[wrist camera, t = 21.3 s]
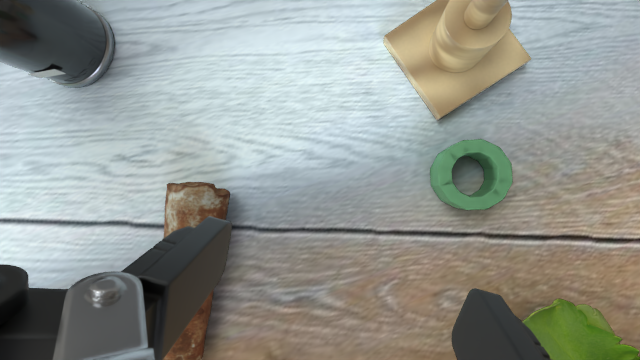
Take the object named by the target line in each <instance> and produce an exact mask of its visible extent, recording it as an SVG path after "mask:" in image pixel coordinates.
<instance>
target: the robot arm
mask: <svg viewBox="0 0 640 360" xmlns="http://www.w3.org/2000/svg"><path fill="white" fill-rule="evenodd" d="M113 53H114V38H113V34H112V31H111V28H110V26H109V24H108V23H107V21H106V20H105V19H104V18H103V17H102V16H101V15H99V14H98V13H97V12H95V11H94V10H92V9H91V8H89V7H87V6H85V5H83V4H82V3H80V2H79V1H77V0H0V62H1V63H4V64H7V65H10V66H12V67H15V68H18V69H21V70H24V71H26V72H29V73H31V74H29V75H32V76H35V77H38V78H46V79H49V80H51V81H52V82H55V83H57V84H60V85H63V86H66V87H71V88H80V87H84V86H87V85H90V84H92V83H94V82H95V81H97V80H98V79H99V78H100V77H101V76H102V75H103V74H104V73H105V71H106V70H107V68H108V67H109V65H110V63H111V60H112V57H113ZM231 230H232V223H231V222H229V221H226V220H222V219H218V218H215V217H211V216H208V217H207V218H205V219H204V220H203V221H202V222H201V223H200V224H198V225H197V226H196V227H195V228H194V227H190V226H187V227H184V228H181V229H178V230H175V231H173V232H172V233H170V234H169V235H168V236H166V237H165V238H164V239H163V240H162V241H160V242H159V243H157V244H156V245H155V246H154V247H153V248H151V249H150V250H148V251H147V252H146V253H144V254H143V255H142V256H141V257H139V258H138V259H137V260H135V261H134V262H133V263H132V264H130V265H129V266H128V267H126V268H125V269H124V270H123V271H121V272H103V273H98V274H94V275H91V276H88V277H86V278H83V279H81V280H80V281H78V282H76V283H75V284H74V285H73V286H72V287H71V288H70V289H43V288H29V286H28V274H27V272H26V271H25V270H23V269H21V268H19V267H16V266H11V265H0V360H163V359H164V358H165V356H166V355H167V353H168V352H169V351H170V349H171V348H172V346H173V345H174V344H175V342H176V341H177V339H178V338H179V337H180V335H181V334H182V332H183V331H184V330H185V328H186V327H187V325H188V324H189V323H190V321H191V320H192V318H193V317H194V316H195V314H196V313H197V311H198V310H199V309H200V307H201V306H202V304H203V303H204V302H205V300H206V299H207V297H208V296H209V295H210V293H211V292H212V290H213V289H214V288H215V286H216V285H217V283H218V282H219V280H220V278H221V276H222V274H223V271H224V268H225V265H226V260H227V254H228V248H229V242H230V236H231ZM452 346H453V349H454V352H455V355H456V357H457V360H552V359H550V355H549V354H548V353H547V351H546V350H545V349H544V347H542V346H541V343H540V342H539V340H538V339H537V338H536V336H535V335H534V334H533V332H532V331H531V329H529V328H528V327H527V326H526V325H525V324H524V323H523V322H522V321H521V320H519V319H518V318H517V317H516V316H515V315H514V314H513V312H512V311H511V310H510V308H509V307H508V305H507V304H506V303H505V301H504V300H503V298H502V297H501V296H500V295H498V294H494V293H491V292H487V291H483V290H479V289H476V288H474V289H472V290H471V291H470V292H469V294H468V296H467V298H466V300H465V302H464V304H463V307H462V309H461V311H460V313H459V316H458V318H457V320H456V322H455V325H454V327H453V331H452Z"/></svg>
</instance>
